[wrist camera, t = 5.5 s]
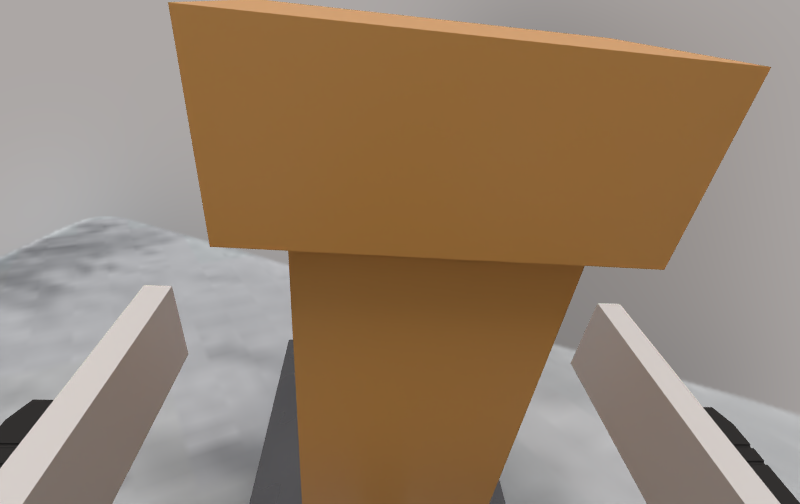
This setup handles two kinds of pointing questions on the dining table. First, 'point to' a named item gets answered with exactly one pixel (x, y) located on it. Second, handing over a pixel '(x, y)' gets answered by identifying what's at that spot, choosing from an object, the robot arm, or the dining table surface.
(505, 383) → the handle
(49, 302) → the dining table surface
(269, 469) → the switch plate
